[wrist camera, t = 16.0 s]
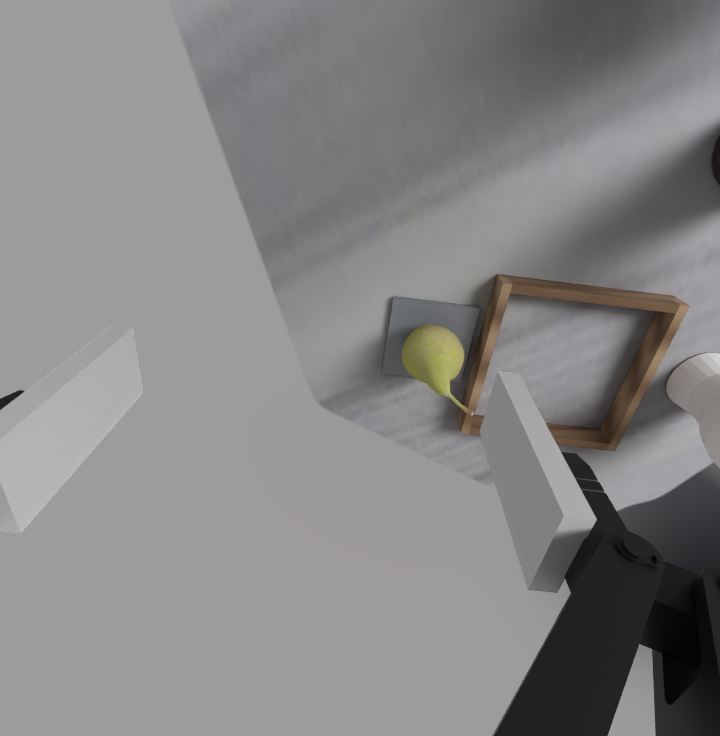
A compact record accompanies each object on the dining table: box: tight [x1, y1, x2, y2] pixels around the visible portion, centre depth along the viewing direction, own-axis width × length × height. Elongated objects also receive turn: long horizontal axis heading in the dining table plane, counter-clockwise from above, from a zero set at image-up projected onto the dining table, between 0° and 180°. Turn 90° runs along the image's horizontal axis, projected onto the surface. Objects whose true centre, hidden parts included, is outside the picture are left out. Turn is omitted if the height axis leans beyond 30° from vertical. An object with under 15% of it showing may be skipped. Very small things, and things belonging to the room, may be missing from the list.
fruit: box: [402, 325, 474, 416], centre depth 48 cm, size 7×8×12 cm
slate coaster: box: [382, 296, 480, 383], centre depth 53 cm, size 10×10×1 cm
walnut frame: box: [457, 274, 689, 451], centre depth 53 cm, size 20×20×3 cm
